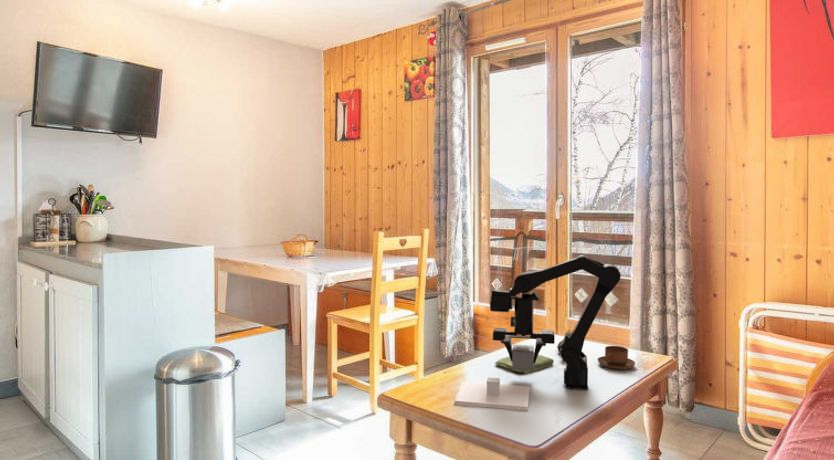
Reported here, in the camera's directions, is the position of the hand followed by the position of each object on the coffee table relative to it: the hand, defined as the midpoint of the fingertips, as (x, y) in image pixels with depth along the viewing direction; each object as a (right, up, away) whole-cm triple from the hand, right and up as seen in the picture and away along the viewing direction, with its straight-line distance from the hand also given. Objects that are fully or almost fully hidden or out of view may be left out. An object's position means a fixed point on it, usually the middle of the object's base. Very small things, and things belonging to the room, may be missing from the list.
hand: (523, 362), depth 169 cm
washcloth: (+4, -6, +16) cm, 17 cm away
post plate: (-11, -7, -13) cm, 19 cm away
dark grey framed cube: (0, -1, 0) cm, 1 cm away
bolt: (+21, -5, +27) cm, 35 cm away
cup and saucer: (+35, -5, +15) cm, 38 cm away
